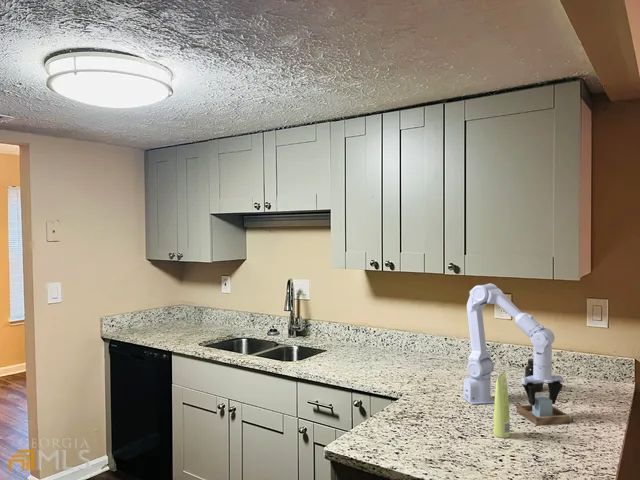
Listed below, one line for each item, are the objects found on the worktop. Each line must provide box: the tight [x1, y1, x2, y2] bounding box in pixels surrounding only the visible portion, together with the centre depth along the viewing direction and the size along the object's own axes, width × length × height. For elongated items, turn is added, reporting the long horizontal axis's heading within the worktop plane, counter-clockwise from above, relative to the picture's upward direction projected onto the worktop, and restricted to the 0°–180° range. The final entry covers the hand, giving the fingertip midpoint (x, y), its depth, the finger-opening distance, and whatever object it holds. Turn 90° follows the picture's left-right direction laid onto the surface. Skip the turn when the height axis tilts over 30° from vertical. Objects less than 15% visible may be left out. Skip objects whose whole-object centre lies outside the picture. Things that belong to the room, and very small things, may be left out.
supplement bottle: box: [524, 358, 544, 393], centre depth 196 cm, size 7×7×12 cm
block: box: [532, 395, 553, 417], centre depth 167 cm, size 4×4×6 cm
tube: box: [493, 370, 511, 439], centre depth 153 cm, size 6×5×20 cm
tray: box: [516, 404, 571, 426], centre depth 167 cm, size 12×12×2 cm
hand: (542, 403), depth 167 cm, fingers open, 7 cm apart
